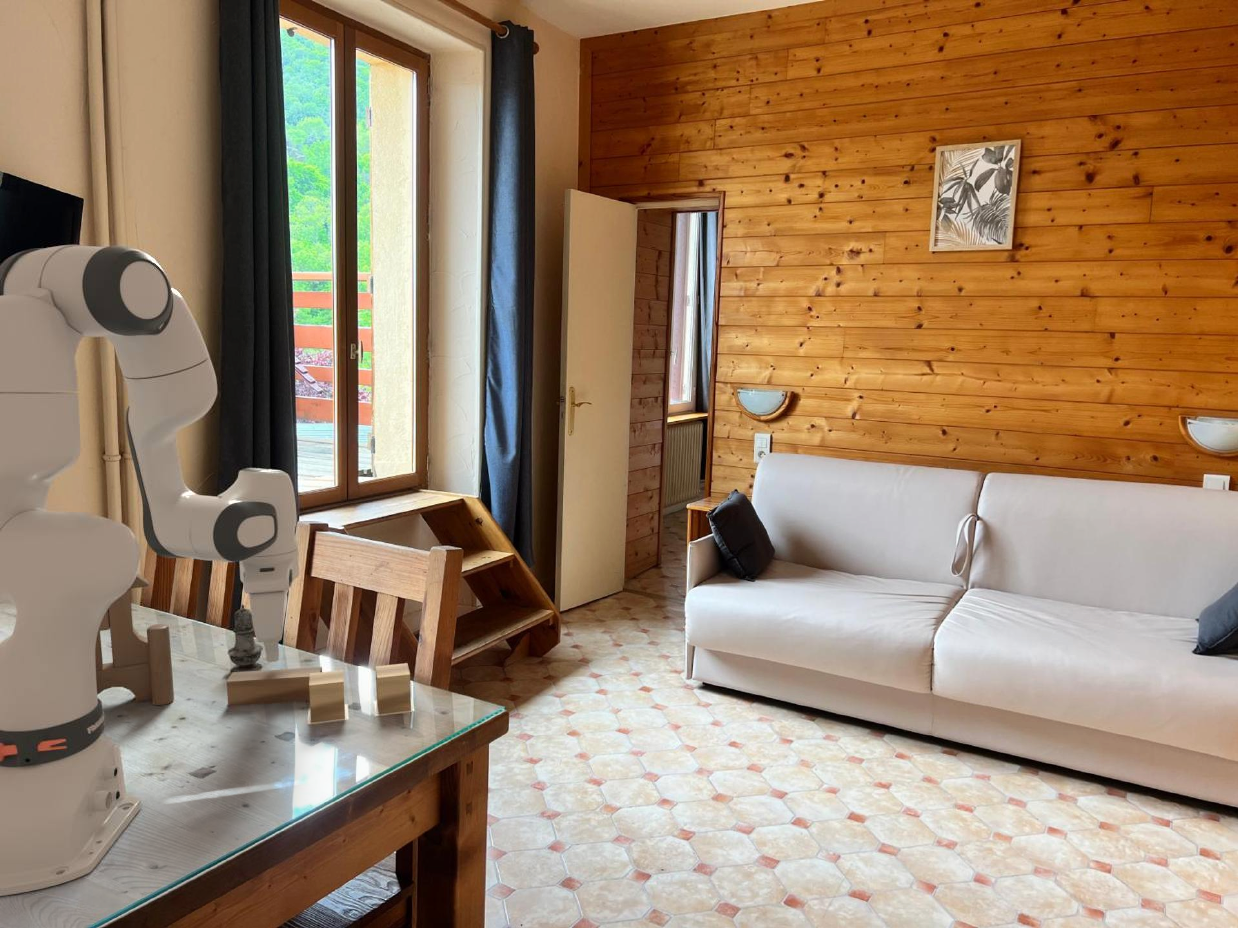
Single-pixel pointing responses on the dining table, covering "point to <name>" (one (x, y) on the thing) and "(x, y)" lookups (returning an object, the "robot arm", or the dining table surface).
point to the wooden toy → (135, 654)
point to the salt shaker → (244, 644)
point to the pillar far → (393, 688)
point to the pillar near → (326, 696)
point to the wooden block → (269, 686)
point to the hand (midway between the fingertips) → (274, 650)
